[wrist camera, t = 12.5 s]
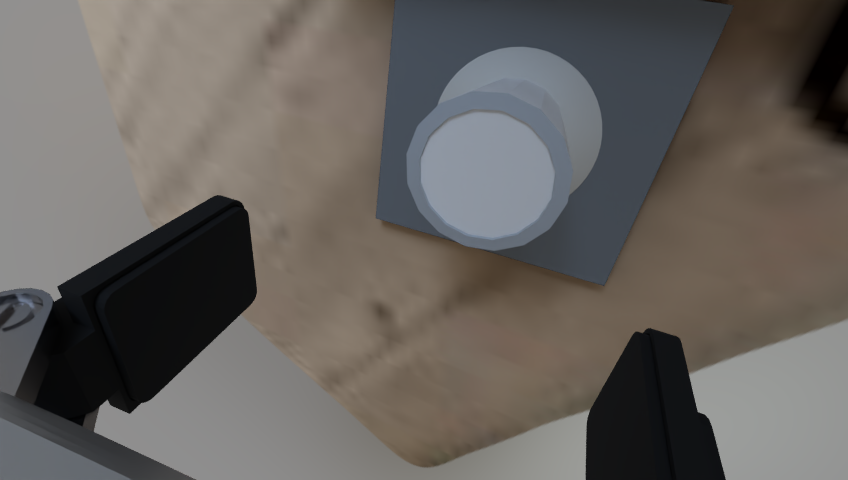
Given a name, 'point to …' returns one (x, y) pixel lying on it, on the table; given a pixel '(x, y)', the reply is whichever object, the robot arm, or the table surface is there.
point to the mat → (571, 89)
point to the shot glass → (492, 165)
